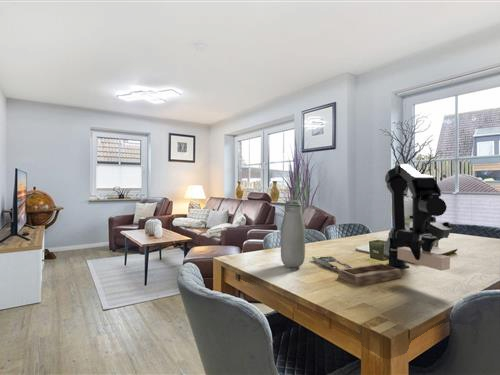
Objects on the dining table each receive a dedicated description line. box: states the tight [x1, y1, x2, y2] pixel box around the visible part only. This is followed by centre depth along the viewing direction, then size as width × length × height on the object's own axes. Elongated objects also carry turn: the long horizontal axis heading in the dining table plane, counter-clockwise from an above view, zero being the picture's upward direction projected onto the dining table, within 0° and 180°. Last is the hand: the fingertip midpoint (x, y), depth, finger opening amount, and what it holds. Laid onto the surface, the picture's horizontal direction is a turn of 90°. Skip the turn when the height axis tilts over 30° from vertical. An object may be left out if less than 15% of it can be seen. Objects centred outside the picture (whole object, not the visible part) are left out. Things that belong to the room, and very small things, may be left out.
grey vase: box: [280, 199, 306, 269], centre depth 123 cm, size 10×10×28 cm
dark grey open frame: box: [311, 256, 353, 273], centre depth 125 cm, size 22×3×10 cm
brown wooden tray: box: [337, 262, 402, 287], centre depth 109 cm, size 21×10×3 cm, turn 114°
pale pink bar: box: [398, 247, 451, 272], centre depth 100 cm, size 16×4×4 cm, turn 23°
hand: (421, 259), depth 100 cm, fingers closed on pale pink bar, 4 cm apart
